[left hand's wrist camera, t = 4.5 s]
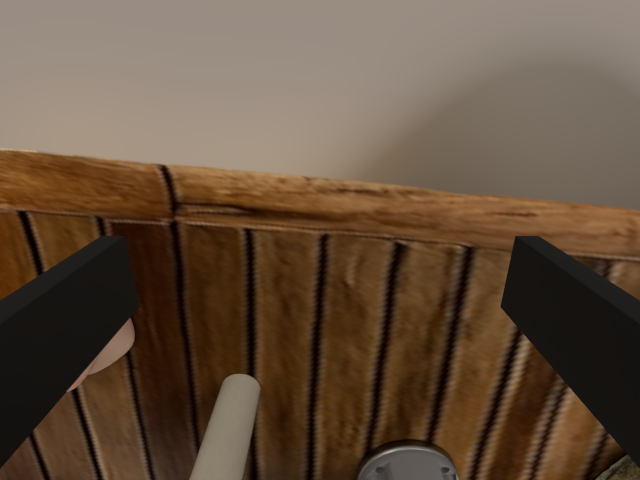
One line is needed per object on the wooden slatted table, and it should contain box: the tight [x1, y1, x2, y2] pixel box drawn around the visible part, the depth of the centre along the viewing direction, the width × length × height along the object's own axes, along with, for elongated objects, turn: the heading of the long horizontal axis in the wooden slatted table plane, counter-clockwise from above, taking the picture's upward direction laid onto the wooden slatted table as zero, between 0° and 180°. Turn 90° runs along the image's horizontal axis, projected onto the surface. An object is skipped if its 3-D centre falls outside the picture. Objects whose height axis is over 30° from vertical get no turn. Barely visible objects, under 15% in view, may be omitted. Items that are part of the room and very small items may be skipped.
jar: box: [189, 374, 260, 480], centre depth 42 cm, size 5×5×17 cm
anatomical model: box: [67, 318, 135, 392], centre depth 45 cm, size 13×4×12 cm
